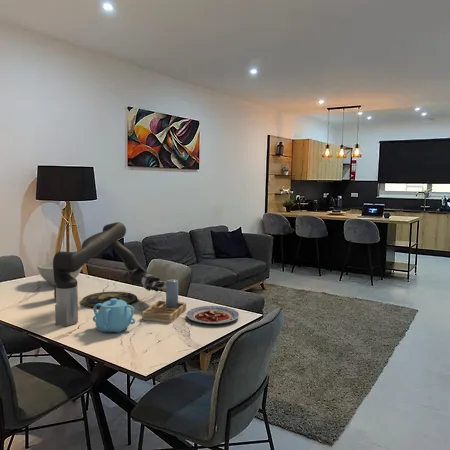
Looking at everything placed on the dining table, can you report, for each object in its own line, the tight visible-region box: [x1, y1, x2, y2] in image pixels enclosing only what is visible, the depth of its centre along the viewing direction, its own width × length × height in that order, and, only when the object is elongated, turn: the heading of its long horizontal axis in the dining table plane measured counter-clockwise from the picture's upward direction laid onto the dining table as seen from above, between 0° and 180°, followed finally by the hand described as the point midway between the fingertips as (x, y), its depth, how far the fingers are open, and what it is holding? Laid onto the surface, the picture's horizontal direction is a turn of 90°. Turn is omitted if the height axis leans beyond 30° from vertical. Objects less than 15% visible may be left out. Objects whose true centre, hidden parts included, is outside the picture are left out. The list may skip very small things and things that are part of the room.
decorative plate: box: [80, 291, 138, 310], centre depth 225 cm, size 30×2×30 cm
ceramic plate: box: [186, 305, 240, 325], centre depth 200 cm, size 26×26×3 cm
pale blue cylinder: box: [165, 279, 179, 309], centre depth 206 cm, size 6×6×15 cm
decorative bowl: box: [36, 260, 83, 286], centre depth 260 cm, size 27×27×12 cm
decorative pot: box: [92, 298, 136, 333], centre depth 182 cm, size 16×16×14 cm
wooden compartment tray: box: [141, 300, 187, 324], centre depth 203 cm, size 20×15×4 cm
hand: (165, 288), depth 212 cm, fingers open, 8 cm apart
